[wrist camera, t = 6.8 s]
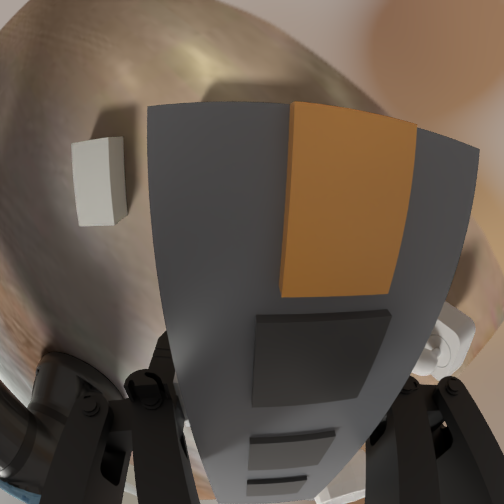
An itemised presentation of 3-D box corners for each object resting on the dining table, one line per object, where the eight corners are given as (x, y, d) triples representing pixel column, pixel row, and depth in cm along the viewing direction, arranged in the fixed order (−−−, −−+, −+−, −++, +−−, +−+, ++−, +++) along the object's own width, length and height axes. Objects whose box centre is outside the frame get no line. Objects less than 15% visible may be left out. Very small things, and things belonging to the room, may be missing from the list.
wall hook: (359, 317, 28) (419, 373, 19) (421, 285, 30) (478, 323, 21) (356, 364, 31) (401, 417, 22) (413, 332, 33) (459, 371, 24)
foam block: (94, 216, 22) (79, 226, 19) (88, 141, 19) (71, 143, 17) (127, 214, 22) (114, 225, 20) (123, 136, 20) (108, 137, 17)
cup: (358, 386, 34) (394, 478, 19) (347, 417, 37) (372, 496, 23) (298, 397, 34) (319, 499, 19) (295, 427, 37) (310, 511, 22)
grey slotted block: (223, 363, 19) (218, 508, 9) (219, 130, 13) (139, 103, 2) (288, 362, 20) (314, 502, 9) (314, 134, 13) (491, 151, 3)
